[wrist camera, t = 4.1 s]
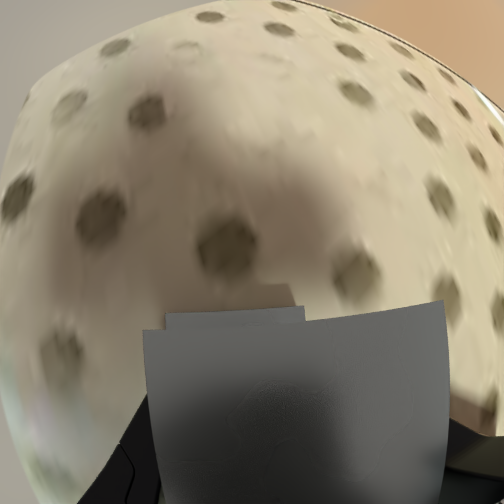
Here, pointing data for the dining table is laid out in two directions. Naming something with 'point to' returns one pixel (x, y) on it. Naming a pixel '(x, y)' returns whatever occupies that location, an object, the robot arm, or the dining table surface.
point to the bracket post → (300, 406)
